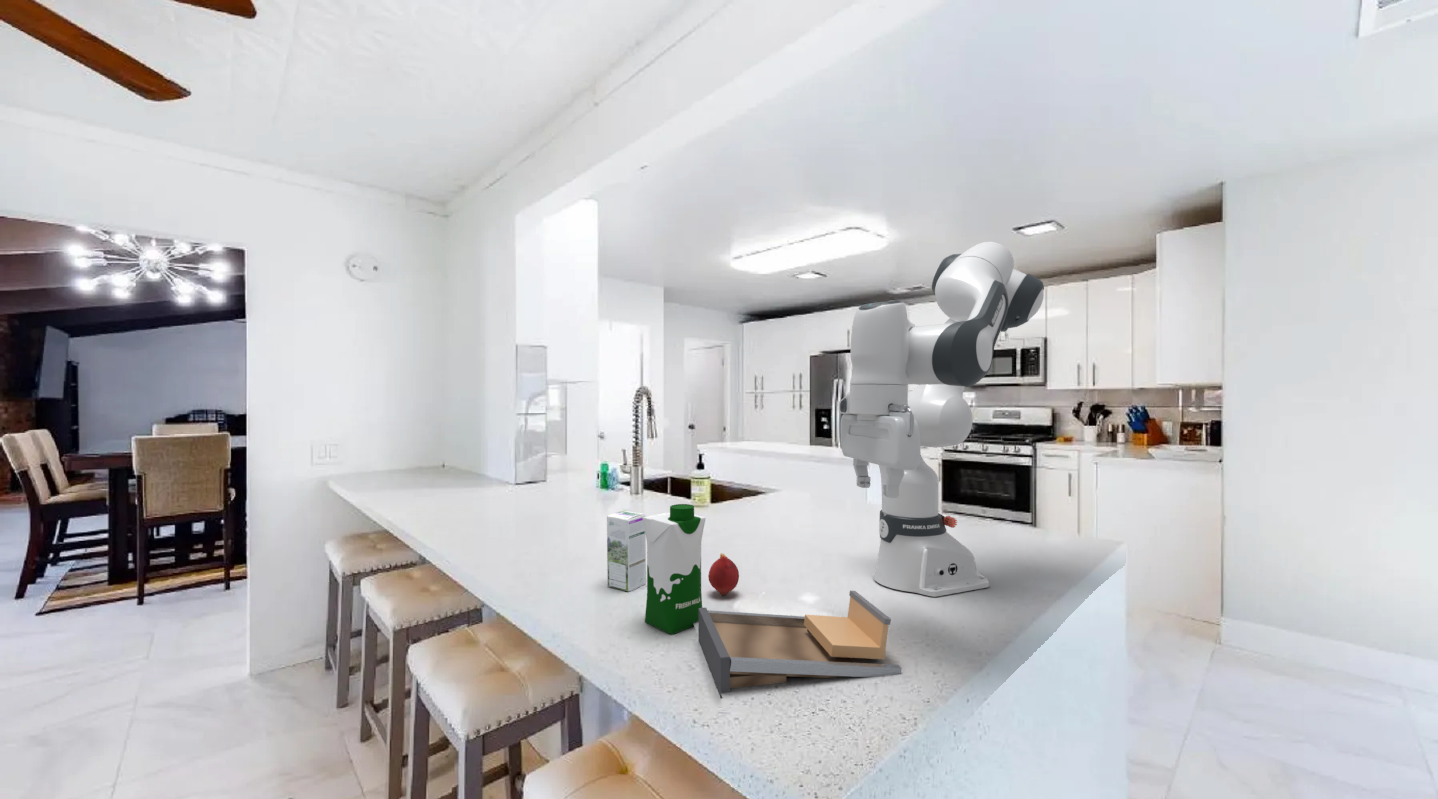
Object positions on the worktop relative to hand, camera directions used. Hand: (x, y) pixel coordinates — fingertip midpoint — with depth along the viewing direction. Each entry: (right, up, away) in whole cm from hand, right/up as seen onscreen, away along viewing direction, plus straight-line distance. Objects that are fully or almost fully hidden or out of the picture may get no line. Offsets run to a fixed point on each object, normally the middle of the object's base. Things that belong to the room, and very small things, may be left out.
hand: (876, 492), depth 90 cm
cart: (-7, -23, -5) cm, 24 cm away
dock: (-13, -23, -6) cm, 28 cm away
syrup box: (-43, -23, +25) cm, 55 cm away
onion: (-24, -23, +20) cm, 39 cm away
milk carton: (-32, -23, +7) cm, 41 cm away
